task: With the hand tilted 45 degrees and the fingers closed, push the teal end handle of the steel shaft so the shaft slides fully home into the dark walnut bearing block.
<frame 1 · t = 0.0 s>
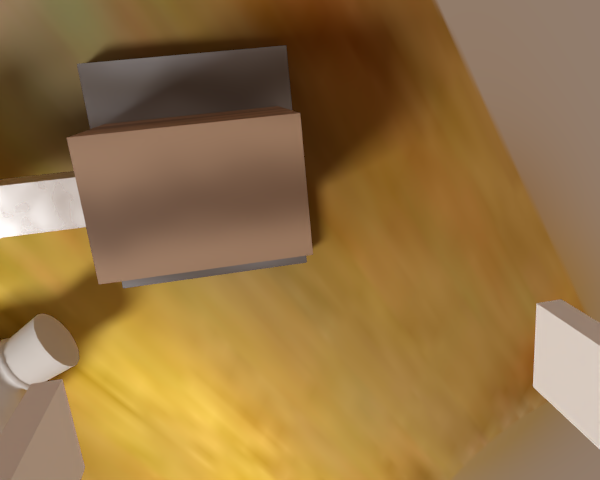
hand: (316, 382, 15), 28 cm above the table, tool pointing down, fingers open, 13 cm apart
bearing block: (148, 173, 40), on the table
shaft: (5, 204, 33), point 6 cm above the table, slide at 10.0 cm
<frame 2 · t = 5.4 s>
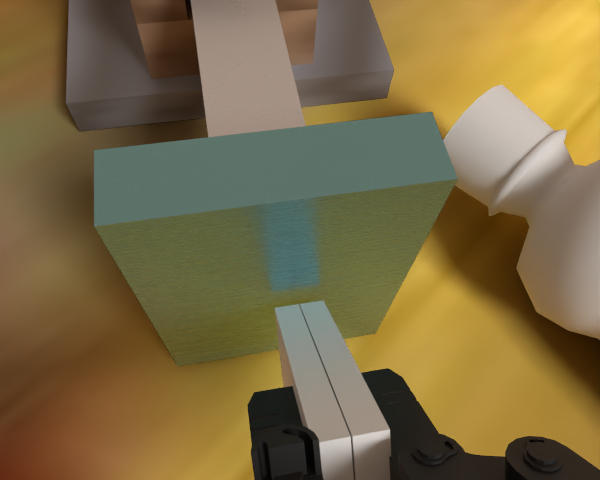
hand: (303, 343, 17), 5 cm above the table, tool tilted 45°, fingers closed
bearing block: (231, 72, 29), on the table
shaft: (242, 83, 20), point 6 cm above the table, slide at 8.8 cm, touching gripper
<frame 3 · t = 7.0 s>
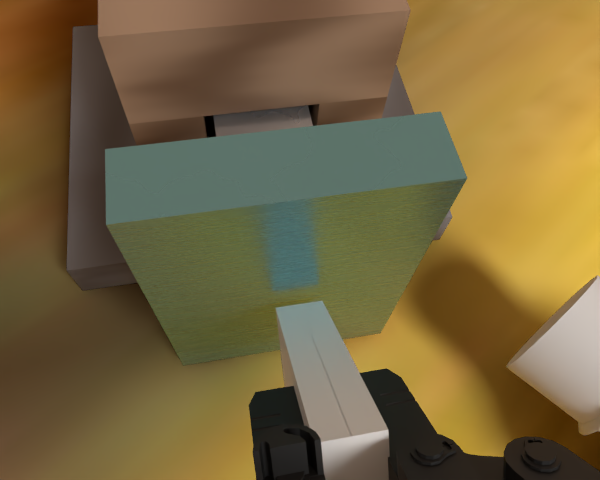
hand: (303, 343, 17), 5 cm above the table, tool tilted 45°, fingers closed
bearing block: (258, 207, 25), on the table
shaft: (248, 83, 21), point 6 cm above the table, slide at 0.1 cm, touching gripper
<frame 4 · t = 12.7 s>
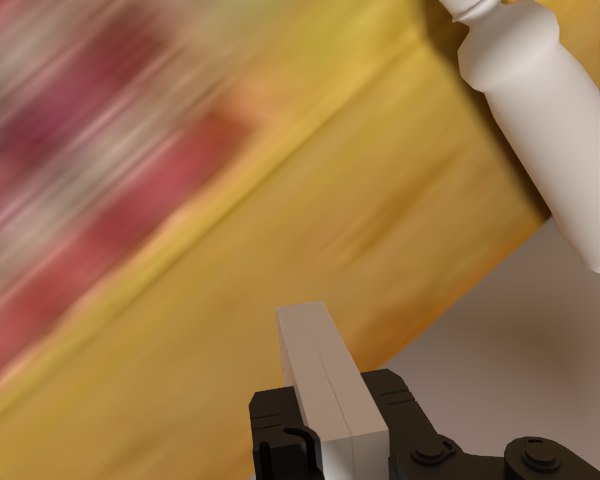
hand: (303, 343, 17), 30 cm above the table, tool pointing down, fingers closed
bottle: (528, 116, 48), on the table
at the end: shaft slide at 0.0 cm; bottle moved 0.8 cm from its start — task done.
